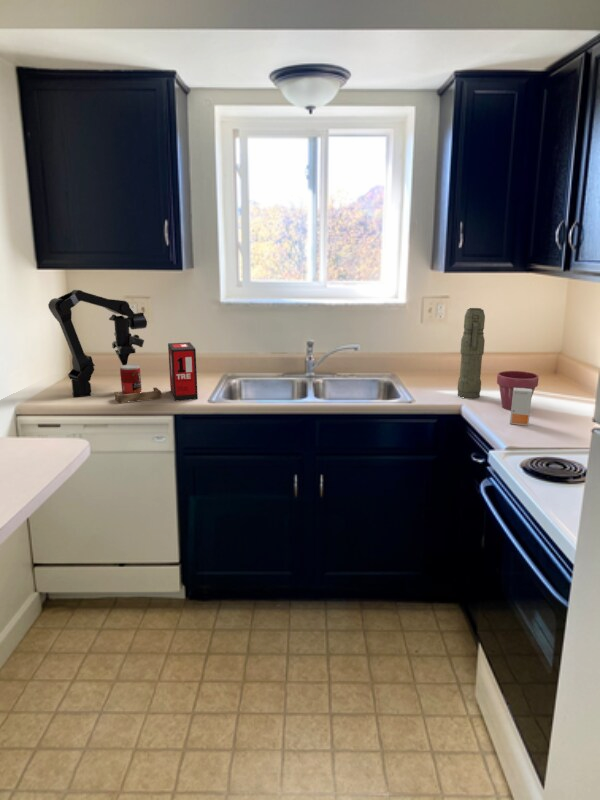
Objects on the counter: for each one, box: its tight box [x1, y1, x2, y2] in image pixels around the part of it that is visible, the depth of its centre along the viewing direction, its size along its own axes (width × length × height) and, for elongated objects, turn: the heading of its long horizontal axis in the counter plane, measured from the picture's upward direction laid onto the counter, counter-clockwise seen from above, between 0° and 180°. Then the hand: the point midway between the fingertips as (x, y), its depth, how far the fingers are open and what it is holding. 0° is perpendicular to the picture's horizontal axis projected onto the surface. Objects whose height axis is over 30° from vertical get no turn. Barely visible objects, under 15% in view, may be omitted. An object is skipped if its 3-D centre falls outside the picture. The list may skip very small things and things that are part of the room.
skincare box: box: [509, 388, 533, 427], centre depth 195 cm, size 6×4×12 cm
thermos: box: [457, 307, 486, 399], centre depth 228 cm, size 9×12×35 cm
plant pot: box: [496, 370, 539, 411], centre depth 214 cm, size 14×14×13 cm
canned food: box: [119, 364, 143, 395], centre depth 236 cm, size 8×8×11 cm
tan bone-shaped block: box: [114, 387, 162, 404], centre depth 227 cm, size 16×7×3 cm, turn 117°
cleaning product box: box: [167, 342, 199, 402], centre depth 231 cm, size 16×9×20 cm, turn 18°
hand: (124, 367), depth 245 cm, fingers closed
